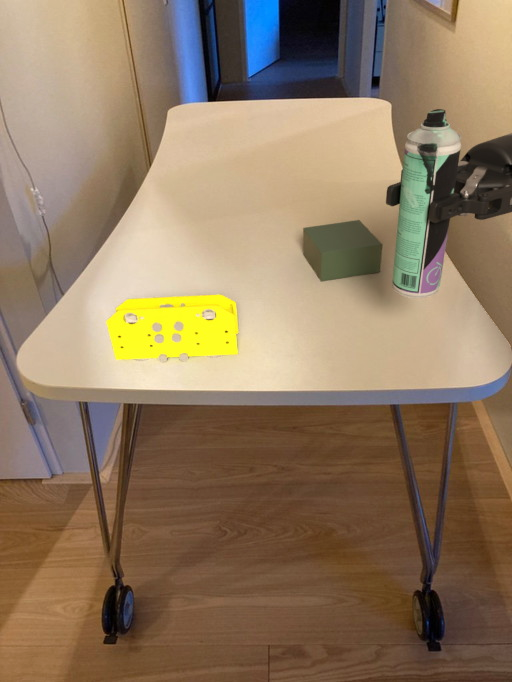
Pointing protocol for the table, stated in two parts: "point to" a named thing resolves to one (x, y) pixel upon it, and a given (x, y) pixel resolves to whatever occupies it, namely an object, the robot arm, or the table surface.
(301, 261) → the table surface
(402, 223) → the spray can
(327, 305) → the table surface
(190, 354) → the yellow toy chassis
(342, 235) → the sage block
